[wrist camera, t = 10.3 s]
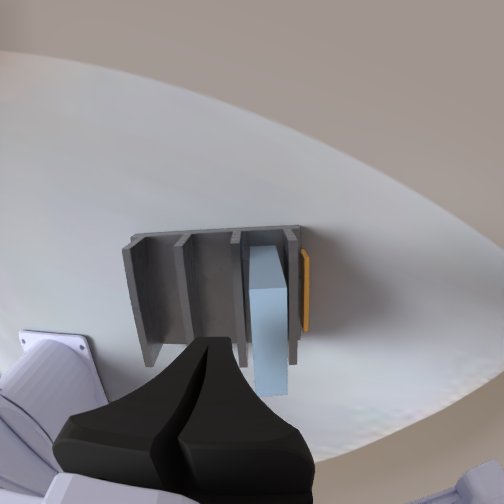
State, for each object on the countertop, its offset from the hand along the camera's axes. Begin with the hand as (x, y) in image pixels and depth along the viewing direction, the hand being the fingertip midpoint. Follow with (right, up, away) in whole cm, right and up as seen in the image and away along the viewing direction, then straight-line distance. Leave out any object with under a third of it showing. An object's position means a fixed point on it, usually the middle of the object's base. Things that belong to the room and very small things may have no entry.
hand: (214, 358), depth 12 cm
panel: (+2, +2, +9) cm, 10 cm away
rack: (-1, +2, +10) cm, 10 cm away
